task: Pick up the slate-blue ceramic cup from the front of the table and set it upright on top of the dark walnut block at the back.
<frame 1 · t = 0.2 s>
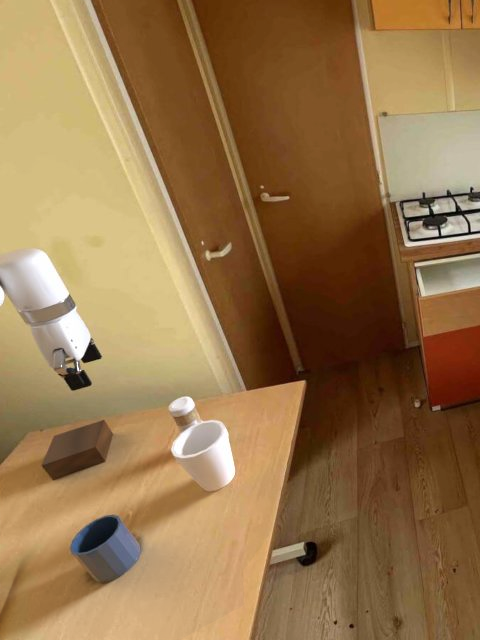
hand: (88, 373, 92), 22 cm above the table, tool pointing down, fingers open, 9 cm apart
block: (84, 455, 99), on the table
foam cup: (219, 478, 94), on the table
cup: (117, 561, 79), on the table
sprinkles bottle: (200, 443, 102), on the table
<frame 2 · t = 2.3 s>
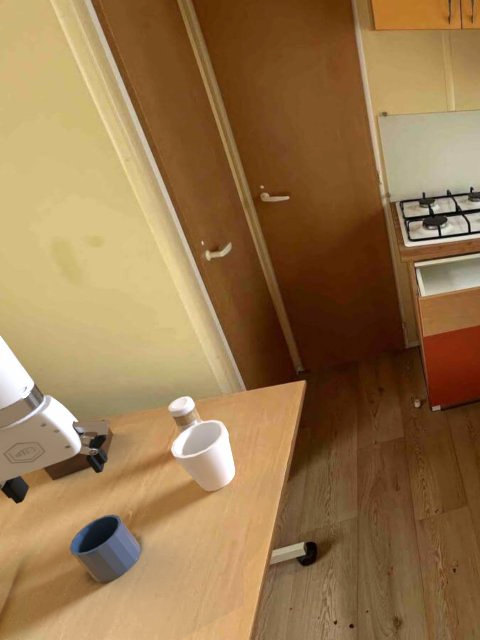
hand: (63, 480, 70), 22 cm above the table, tool pointing down, fingers open, 9 cm apart
nothing on the table moved.
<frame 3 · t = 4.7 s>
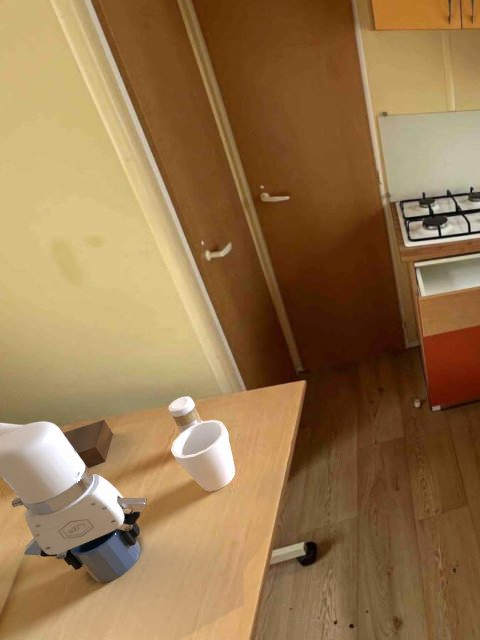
hand: (108, 549, 77), 4 cm above the table, tool pointing down, fingers closed on cup, 6 cm apart
cup: (117, 561, 79), on the table, touching gripper
everything else where it was.
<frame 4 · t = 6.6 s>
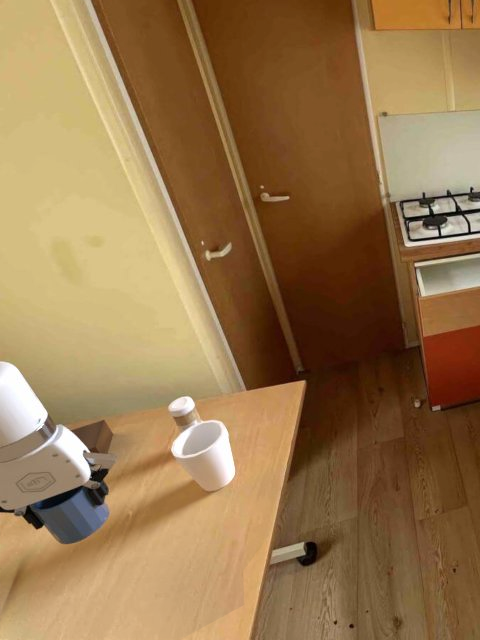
hand: (73, 508, 71), 16 cm above the table, tool pointing down, fingers closed on cup, 6 cm apart
cup: (84, 523, 73), point 12 cm above the table, touching gripper
everything else where it was.
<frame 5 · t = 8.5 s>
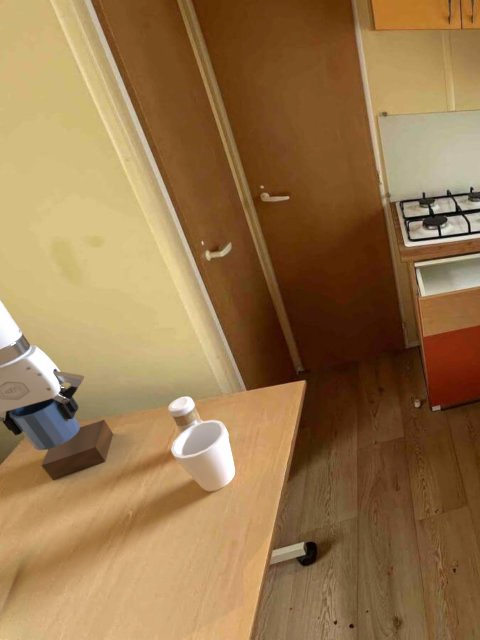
hand: (47, 421, 83), 20 cm above the table, tool pointing down, fingers closed on cup, 6 cm apart
cup: (57, 435, 85), point 15 cm above the table, touching gripper
everything else where it was.
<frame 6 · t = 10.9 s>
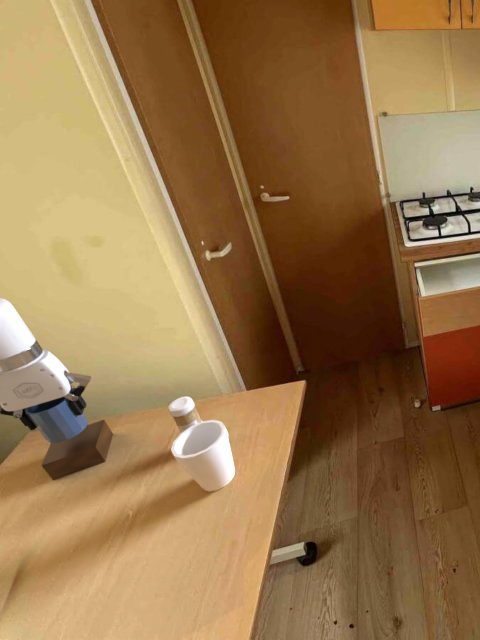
hand: (58, 417, 93), 13 cm above the table, tool pointing down, fingers closed on cup, 6 cm apart
cup: (68, 430, 95), point 8 cm above the table, touching gripper
everything else where it was.
when the fingers open (9 cm above the table, at t = 12.4 s): cup stays where it is, resting on block.
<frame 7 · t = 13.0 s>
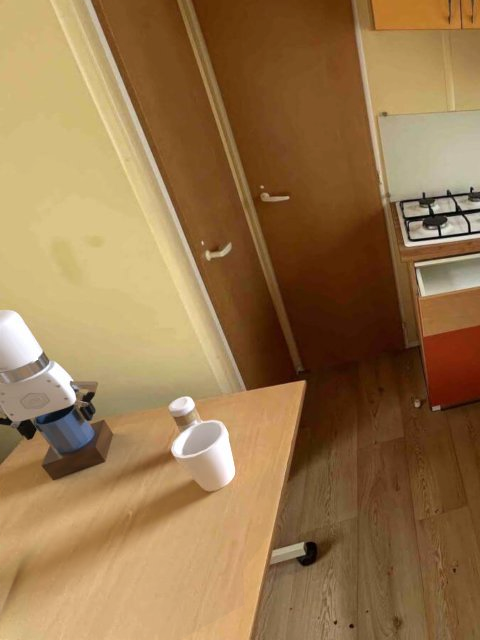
hand: (62, 425, 94), 10 cm above the table, tool pointing down, fingers open, 9 cm apart
block: (84, 455, 99), on the table, touching cup
cup: (75, 440, 96), point 5 cm above the table, touching block
everything else where it was.
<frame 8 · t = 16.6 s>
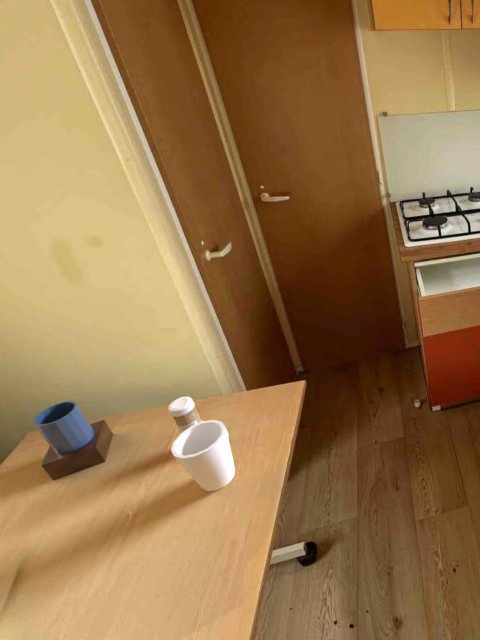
nothing on the table moved.
at the end: cup 0.1 cm off-centre on the block, point 5.0 cm above the block's base; cup tilted 0°; block moved 0.0 cm from its start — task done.
